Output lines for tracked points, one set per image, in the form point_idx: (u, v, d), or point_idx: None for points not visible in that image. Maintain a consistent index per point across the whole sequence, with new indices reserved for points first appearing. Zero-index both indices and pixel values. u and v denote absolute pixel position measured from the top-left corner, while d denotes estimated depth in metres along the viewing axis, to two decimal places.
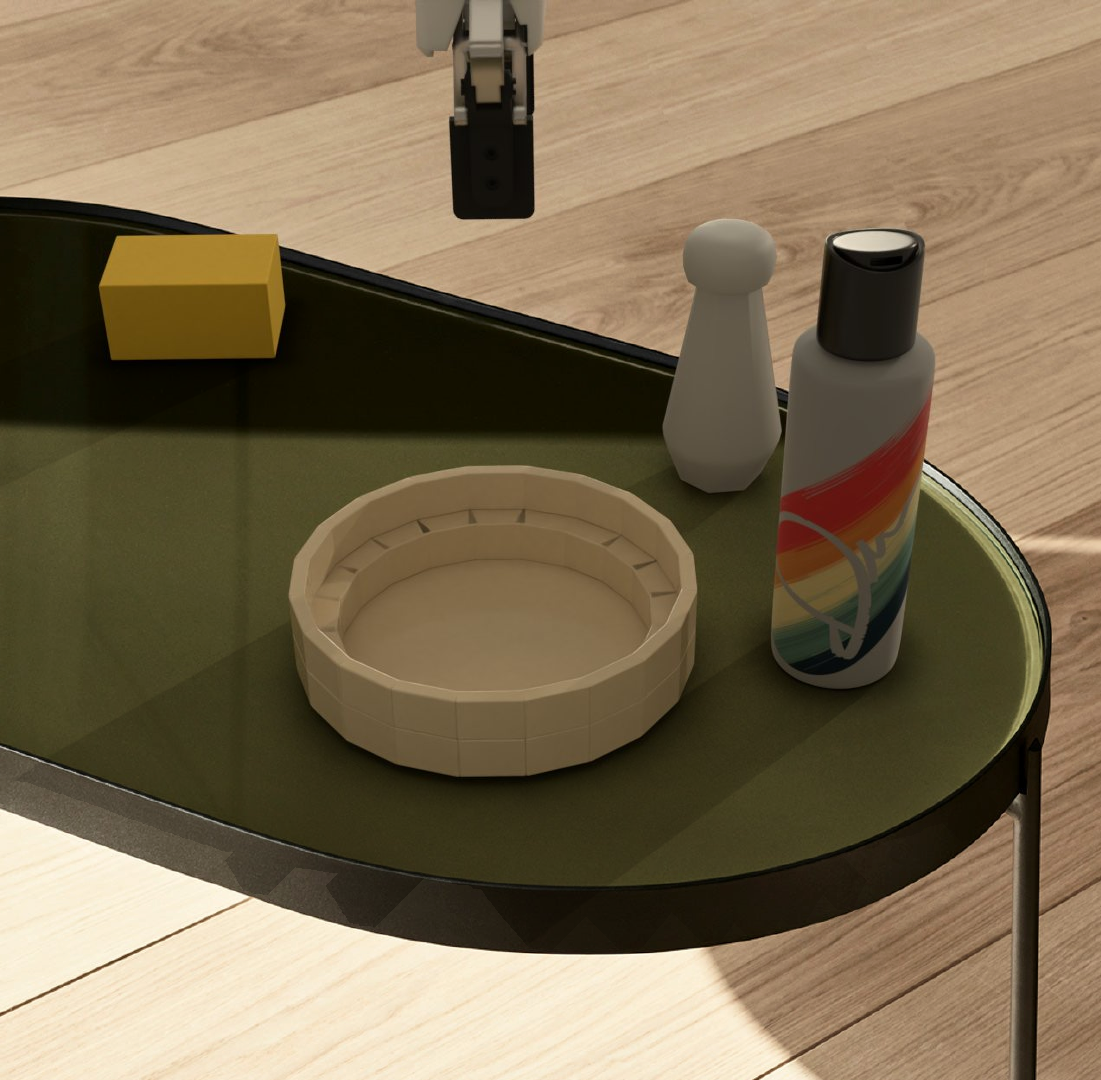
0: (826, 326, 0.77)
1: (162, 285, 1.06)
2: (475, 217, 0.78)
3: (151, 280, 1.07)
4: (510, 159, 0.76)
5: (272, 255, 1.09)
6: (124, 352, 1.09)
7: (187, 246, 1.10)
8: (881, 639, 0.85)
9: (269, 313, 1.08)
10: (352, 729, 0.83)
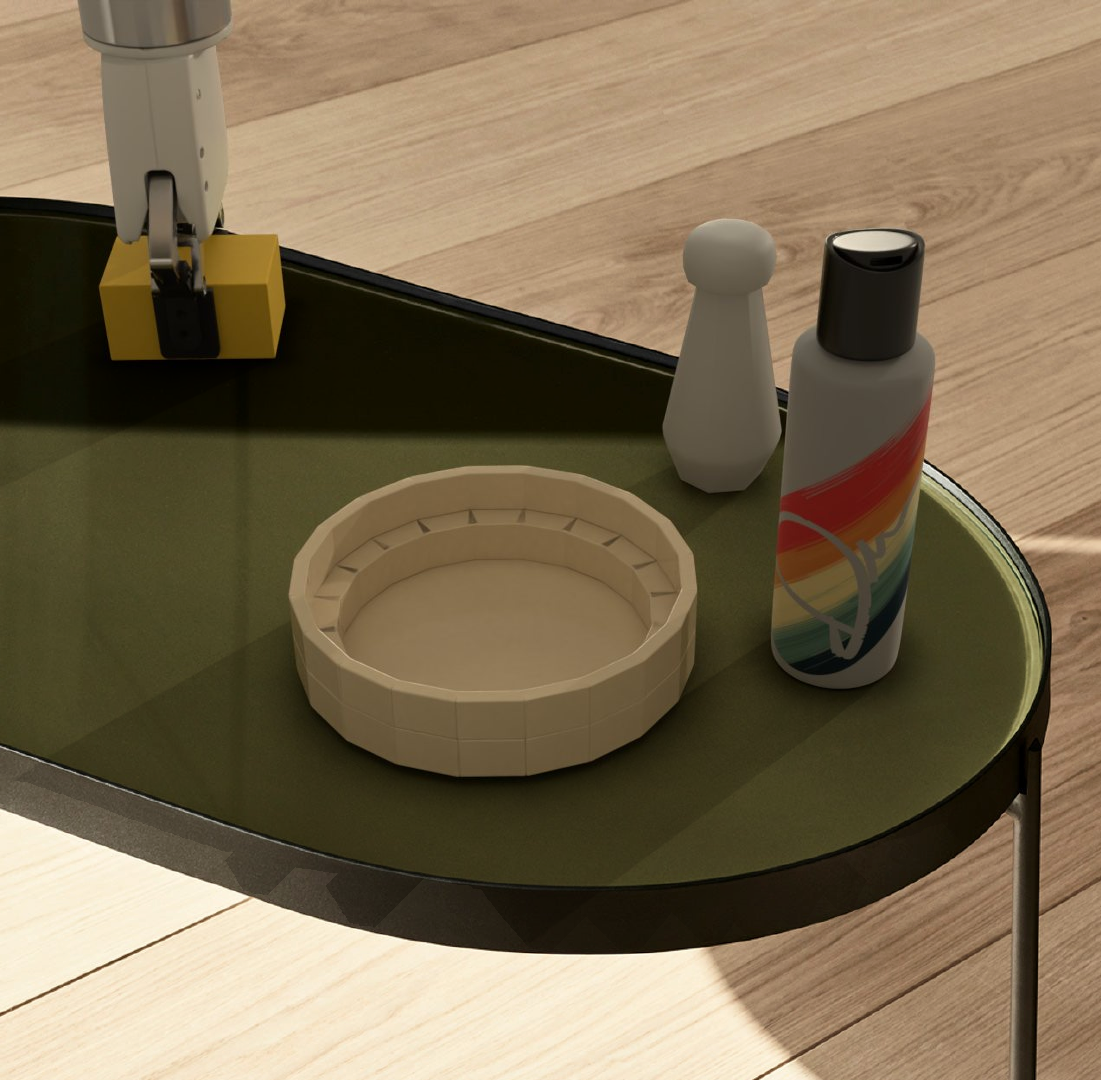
0: (826, 326, 0.77)
1: None
2: (177, 357, 1.09)
3: None
4: (195, 318, 1.06)
5: (272, 255, 1.09)
6: (124, 352, 1.09)
7: None
8: (881, 639, 0.85)
9: (269, 313, 1.08)
10: (352, 729, 0.83)
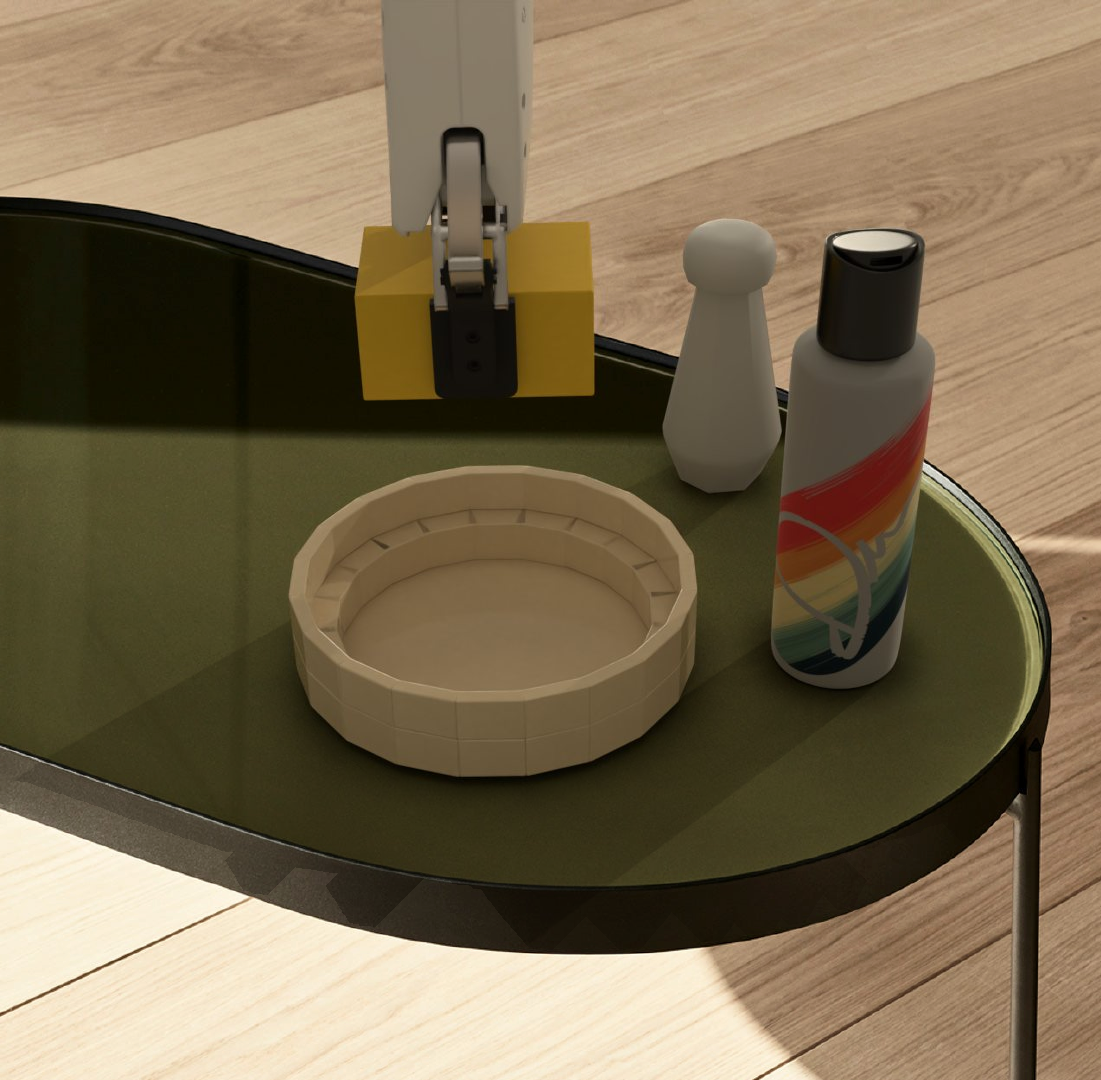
0: (826, 326, 0.77)
1: None
2: (457, 396, 0.77)
3: (427, 288, 0.75)
4: (492, 342, 0.75)
5: (590, 251, 0.77)
6: (383, 389, 0.77)
7: None
8: (881, 639, 0.85)
9: (593, 333, 0.76)
10: (352, 729, 0.83)
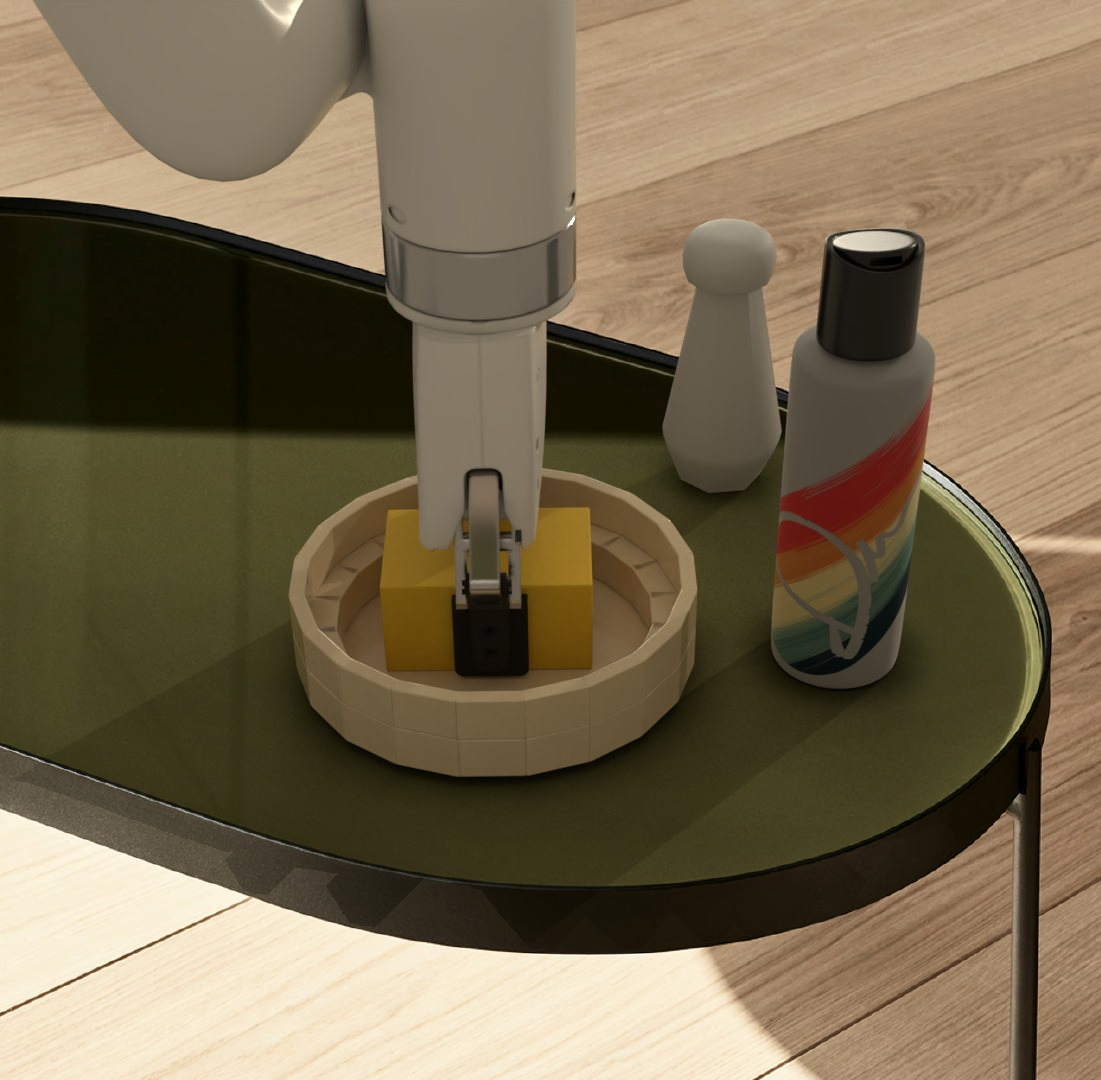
0: (826, 326, 0.77)
1: None
2: (475, 674, 0.86)
3: (444, 579, 0.85)
4: (506, 634, 0.84)
5: (590, 540, 0.87)
6: (404, 662, 0.87)
7: None
8: (881, 639, 0.85)
9: (591, 618, 0.85)
10: (352, 729, 0.83)
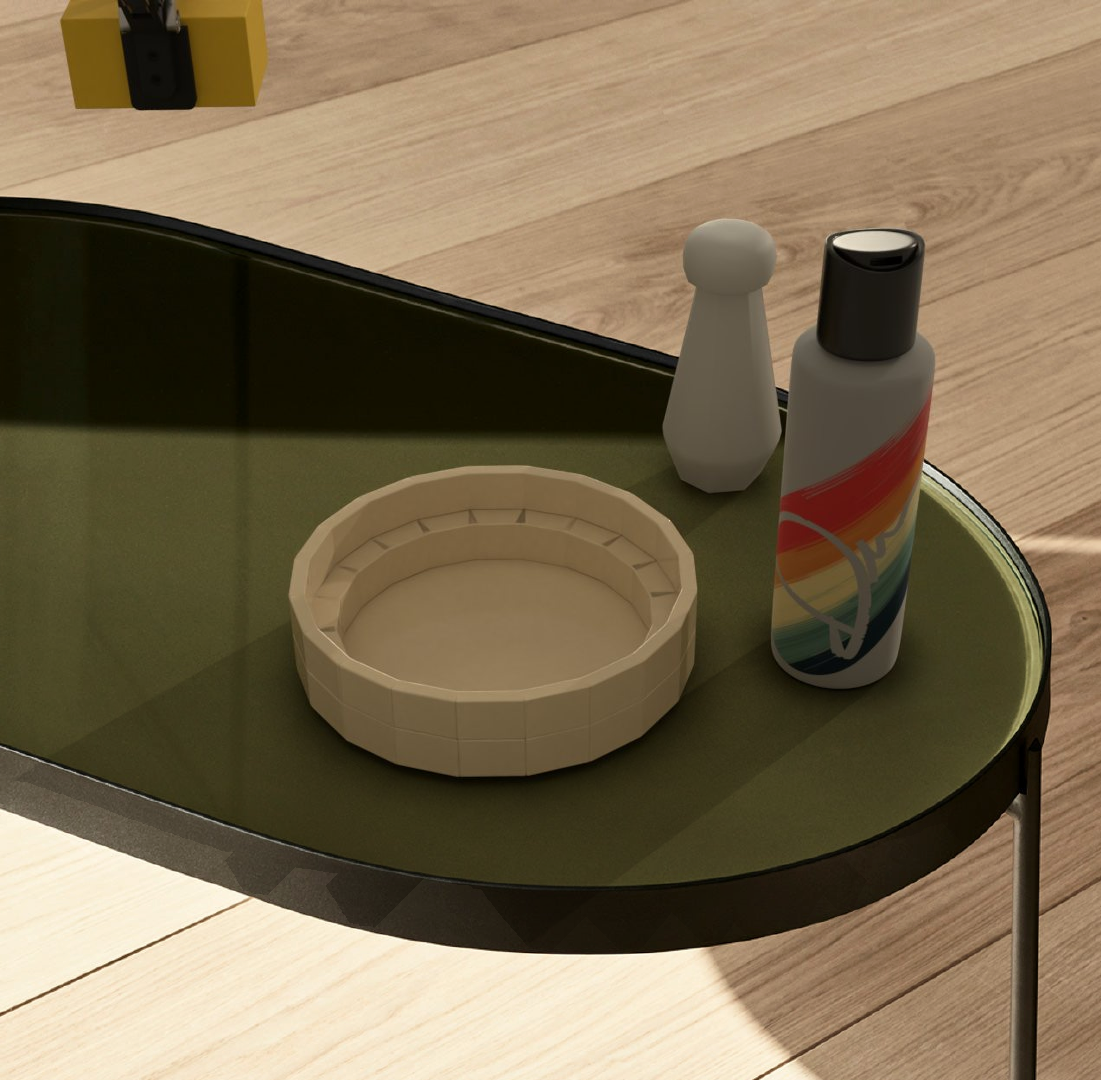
0: (826, 326, 0.77)
1: None
2: (149, 108, 0.99)
3: (117, 14, 0.97)
4: (169, 60, 0.96)
5: None
6: (89, 99, 0.99)
7: None
8: (881, 639, 0.85)
9: (248, 53, 0.97)
10: (352, 729, 0.83)
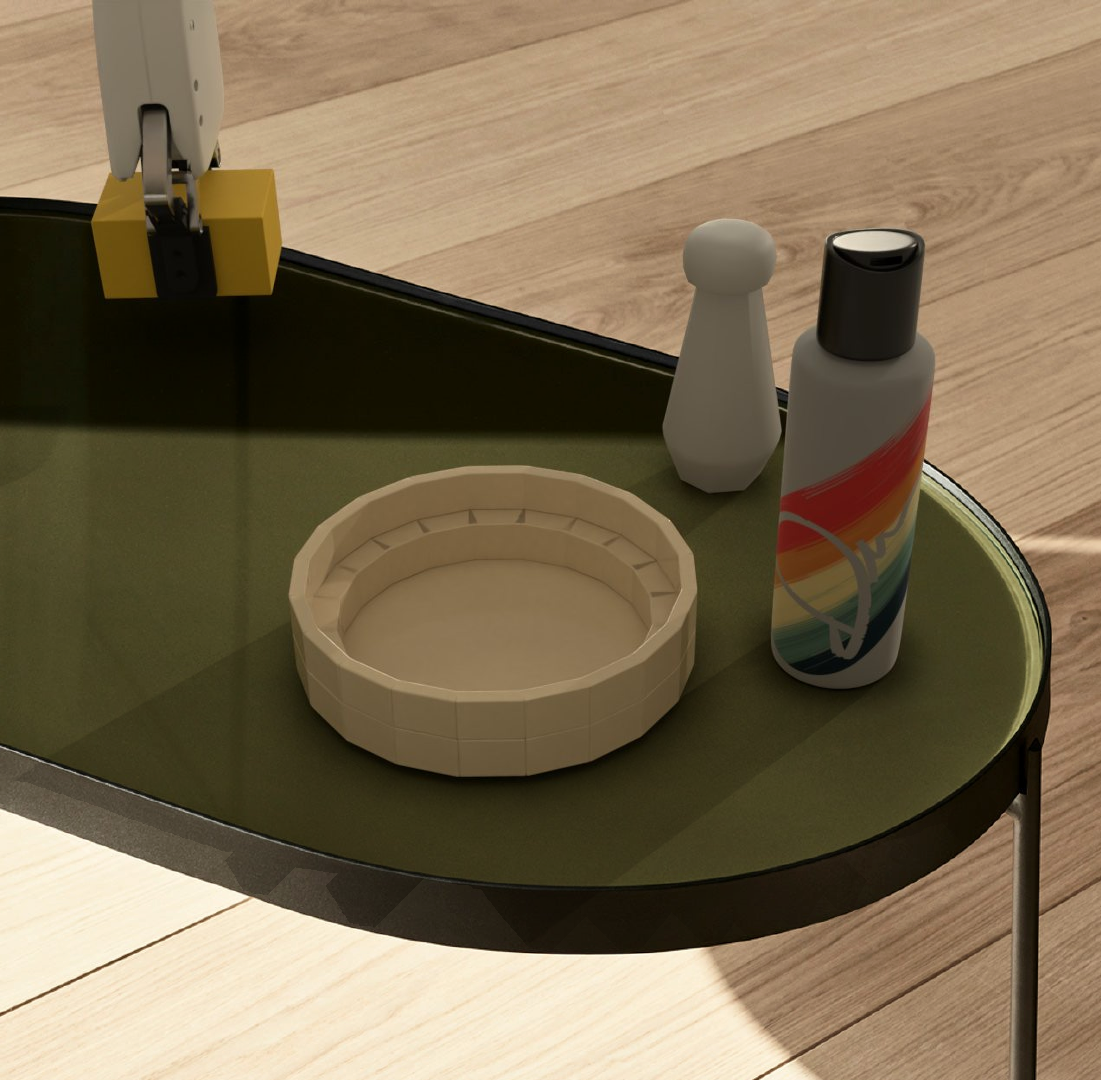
0: (826, 326, 0.77)
1: None
2: (173, 299, 1.06)
3: (144, 215, 1.05)
4: (192, 258, 1.04)
5: (268, 190, 1.07)
6: (118, 290, 1.07)
7: None
8: (881, 639, 0.85)
9: (265, 248, 1.05)
10: (352, 729, 0.83)
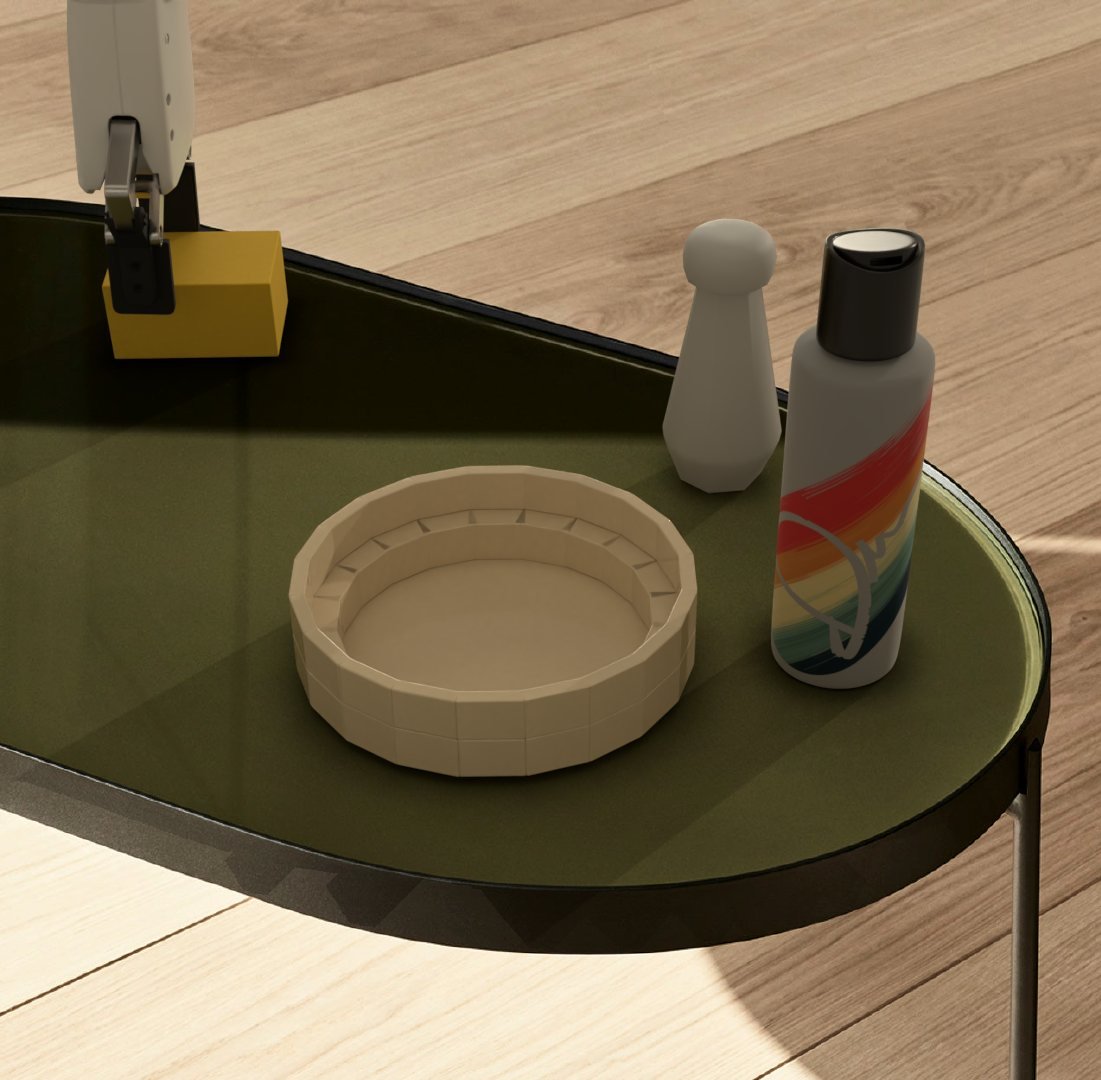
0: (826, 326, 0.77)
1: None
2: (130, 312, 1.03)
3: None
4: (150, 271, 1.01)
5: (275, 253, 1.09)
6: (128, 351, 1.09)
7: (189, 243, 1.10)
8: (881, 639, 0.85)
9: (272, 312, 1.08)
10: (352, 729, 0.83)
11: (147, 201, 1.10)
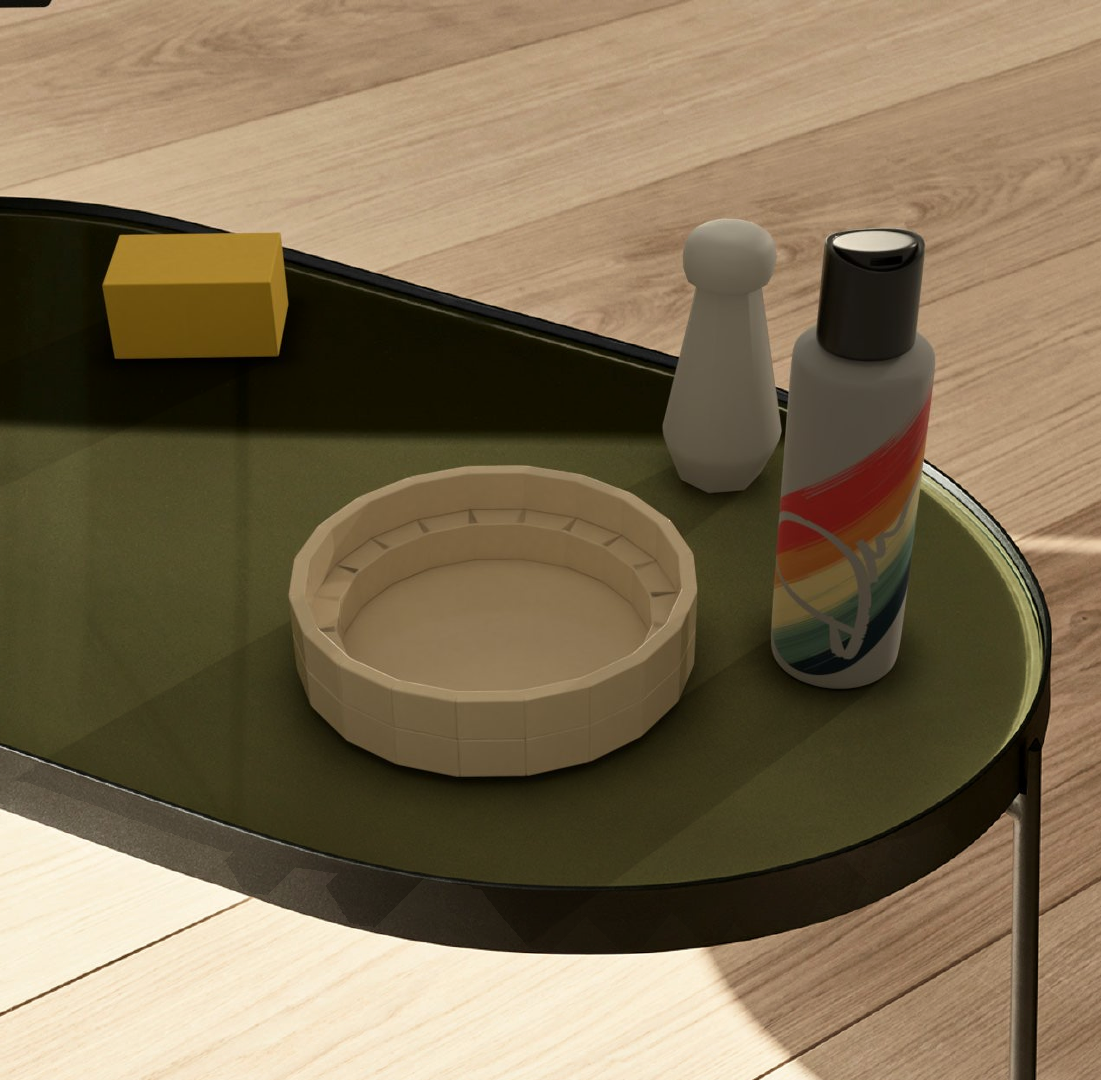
0: (826, 326, 0.77)
1: (166, 284, 1.07)
2: None
3: (154, 279, 1.07)
4: None
5: (275, 254, 1.09)
6: (128, 351, 1.09)
7: (190, 245, 1.10)
8: (881, 639, 0.85)
9: (273, 312, 1.08)
10: (352, 729, 0.83)
11: None
